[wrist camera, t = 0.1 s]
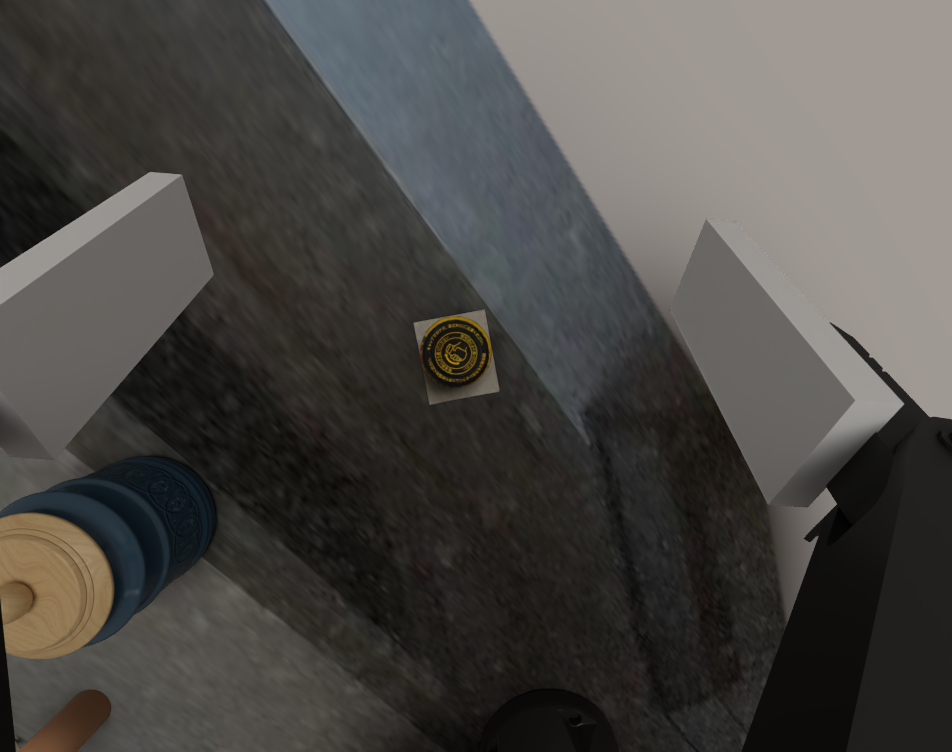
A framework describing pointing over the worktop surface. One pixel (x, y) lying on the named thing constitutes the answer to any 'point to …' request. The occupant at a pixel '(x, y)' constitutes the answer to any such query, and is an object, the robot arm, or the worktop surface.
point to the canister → (97, 552)
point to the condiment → (456, 356)
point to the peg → (72, 724)
